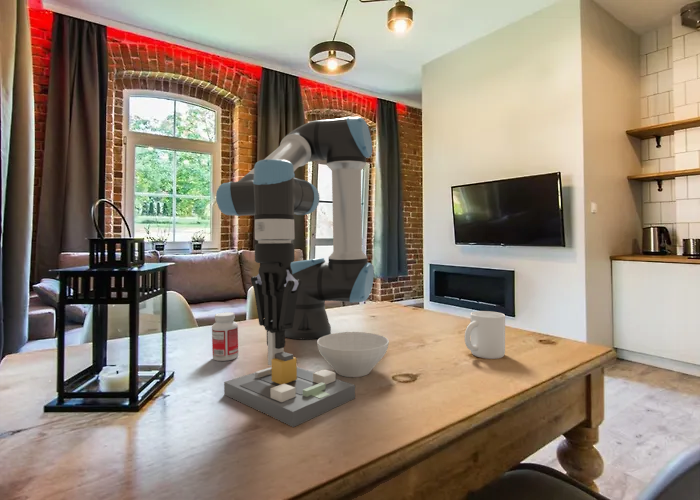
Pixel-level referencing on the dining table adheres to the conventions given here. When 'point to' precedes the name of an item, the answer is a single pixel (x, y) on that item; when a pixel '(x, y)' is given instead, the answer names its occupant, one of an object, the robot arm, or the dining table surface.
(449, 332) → the dining table surface
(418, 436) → the dining table surface
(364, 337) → the bowl
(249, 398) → the panel
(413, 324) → the dining table surface
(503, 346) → the mug
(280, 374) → the breaker handle
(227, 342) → the pill bottle
